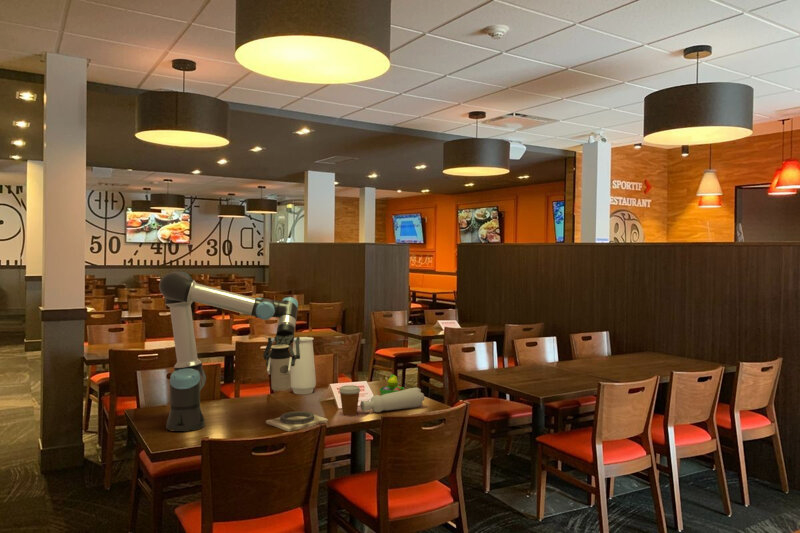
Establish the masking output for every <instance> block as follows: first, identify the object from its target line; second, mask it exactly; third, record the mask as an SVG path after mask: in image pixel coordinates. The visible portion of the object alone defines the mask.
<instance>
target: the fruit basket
mask: <svg viewBox="0 0 800 533" xmlns="http://www.w3.org/2000/svg"><path fill="white" fill-rule="evenodd" d="M386 382H387V385H385V386H382V387H380V388H379V392H380V396H382V395H384V394H388V393H393V392H397V391H402V390H405V387H404V386H398V385H399V381H398V377H397V376H396V375H395V374H391V375H390V377H388V380H387V381H386Z"/></svg>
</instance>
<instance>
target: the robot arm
mask: <svg viewBox="0 0 800 533" xmlns="http://www.w3.org/2000/svg"><path fill="white" fill-rule="evenodd" d="M158 288H159V291H160V292H159V293H160V294H161V295H162V296H163V297H164V302H165V305H166V307H169V311H170V319H171V325H172V326H171V327H172V333H173V335H172V336H173V342H174V347H175V349H174V350H175V355H176V356H175V357H176V363H175V365H174V366H173V368H174V371H173V372H172V373H171V374H170V379H169V387H170V396H169V398H170V411H169V413H168V417H167V421H166V426H165V428H167V429H169V430H174V431H188V430H194V431H197V430H196V429H198V430H200V428H201V429H203V428H204V427H205V424H206V423H205V418H204V415H203V412H202V408H201V391H202V389H203V387H204V386H205V384H206V380H207V379H206V374H205V372H204V368H203V362H202V361H201V360H200V359H199V358H198V351H197V343H196V336H195V329H194V328H195V327H194V321H193V320H194V319H193V312H192V307H191V306H192V304H193V302H194V303H198V304H202V305H206V306H212V307H215V308H219V309H224V310H227V311H230V312H231V311H232V312H235V313H239V314H243V315H248V316H252V317H256V318H258V319H261V320H264V321H266V320H269V319H272V318H277V319H278V322H277V328H276V334H275V337H272V338H271V336H270V337H268V339H267V345H266V346H265V349H264V352H263V354H262V356H263V357H262V358H263V359H264V360H266V362H265V364H266V367H267V369H266V371H267V375H271V352H272V348H271V346H273V344H274V345H289V347H288V351H289V353H290V360H289V367H288V372H289V374H291V370H292V366H294V365H295V360H296V359H300V349H299V344H300V338H299V337H300V336H297V337H295V329H296V324H297V318H298V310H299V302H298V300H297V299H296V298H295V297H291V296H288V297H284V298H283V299H282V300H275V299H269V298H264V297H252V296H247V295H245V294H239V293H236V292H232V291H228V290H224V289H219V288H217V287H213V286H208V285H205V284H201V283H197V282H196V281H195V279H192V277H191V276H190V275H189V274H187V273H186V272H183V271H179V270H178V271H177V270H176V271H172V272H169V273H166V274H164V276H162V277H161V279H160V281H159V284H158ZM293 341H295V343H296V355H294V352H293V346H292V344H293ZM274 342H275V343H274ZM202 427H203V428H202ZM167 429H166V430H167Z"/></svg>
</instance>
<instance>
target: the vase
mask: <svg viewBox="0 0 800 533" xmlns="http://www.w3.org/2000/svg"><path fill="white" fill-rule="evenodd" d="M298 337H299V338H300V344H299V349H300V359H296V360H295V365H294V366H292V370H291V388H290V389H292V391H293V394H296V395H310V394H312V393H314V388H315V387H316V385H317V382H316V378H317V377H316V368H315V367H316V366H315V354H314V342H313V341H314V339H315V338H314V337H309V336H298ZM292 350H293V352H294V355H296V343H295V341H293V342H292Z"/></svg>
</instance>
